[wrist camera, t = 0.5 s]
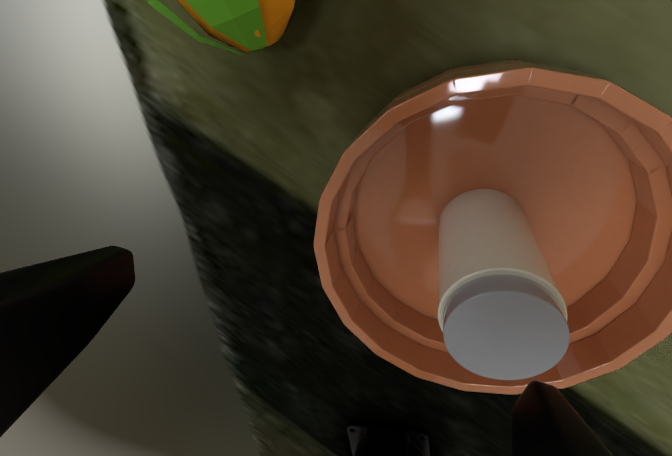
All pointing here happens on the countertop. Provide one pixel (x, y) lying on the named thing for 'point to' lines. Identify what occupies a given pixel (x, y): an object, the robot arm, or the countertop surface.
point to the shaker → (497, 290)
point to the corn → (236, 21)
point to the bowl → (532, 195)
